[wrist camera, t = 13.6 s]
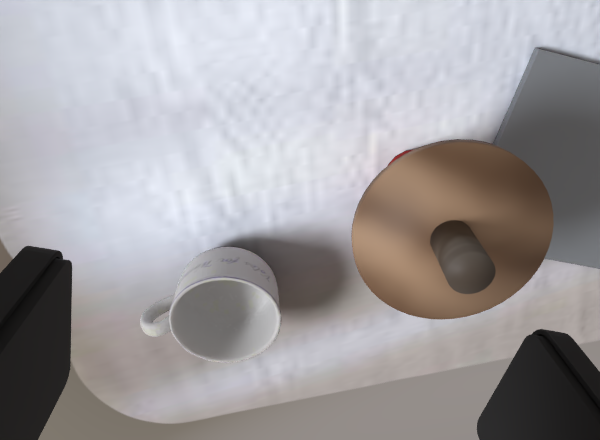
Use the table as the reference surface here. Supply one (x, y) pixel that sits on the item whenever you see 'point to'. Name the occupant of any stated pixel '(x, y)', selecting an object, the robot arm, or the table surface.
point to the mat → (561, 147)
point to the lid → (452, 229)
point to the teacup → (221, 307)
